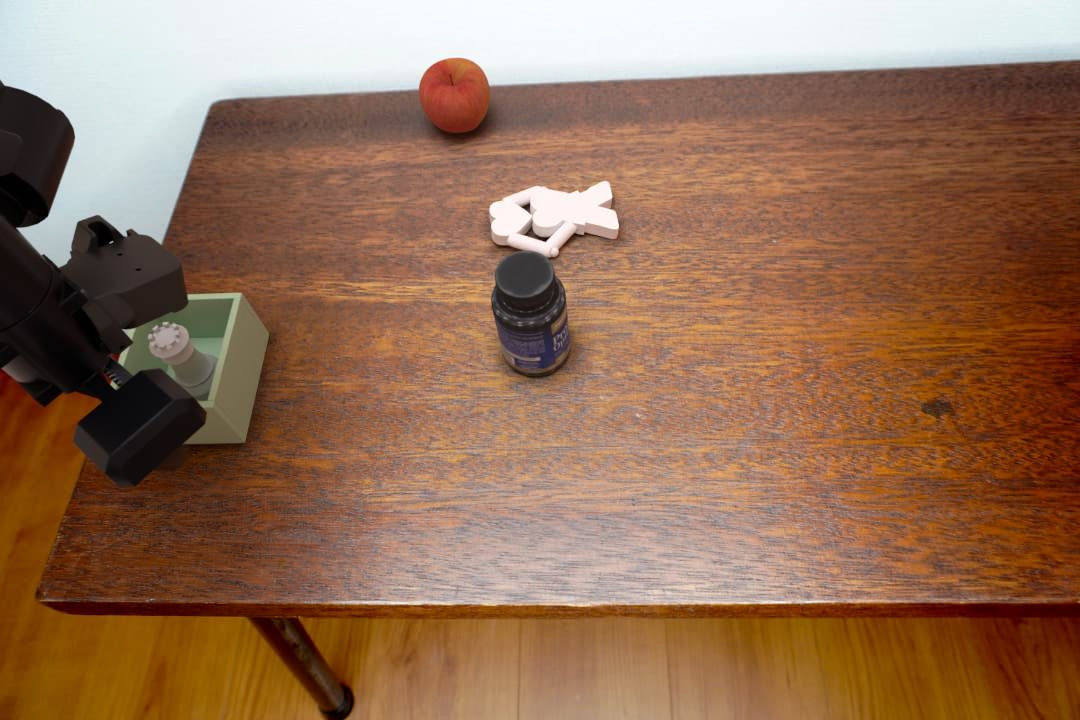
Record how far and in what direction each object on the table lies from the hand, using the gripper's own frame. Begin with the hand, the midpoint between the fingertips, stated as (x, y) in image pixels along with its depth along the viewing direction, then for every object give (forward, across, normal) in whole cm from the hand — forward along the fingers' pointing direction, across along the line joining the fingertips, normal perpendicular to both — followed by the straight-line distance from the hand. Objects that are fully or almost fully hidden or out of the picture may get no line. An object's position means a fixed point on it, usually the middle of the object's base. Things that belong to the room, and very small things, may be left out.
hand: (141, 427), depth 57 cm
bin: (+12, +9, -6) cm, 16 cm away
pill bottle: (+12, -12, -27) cm, 32 cm away
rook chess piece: (+12, +9, -6) cm, 16 cm away
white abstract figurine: (+12, -4, -39) cm, 41 cm away
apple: (+12, +13, -44) cm, 48 cm away
